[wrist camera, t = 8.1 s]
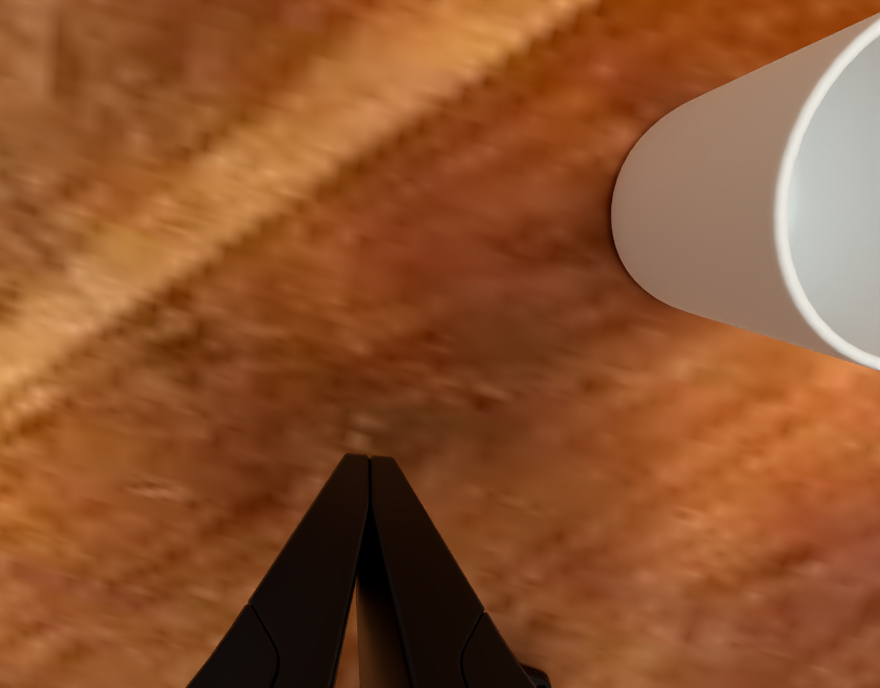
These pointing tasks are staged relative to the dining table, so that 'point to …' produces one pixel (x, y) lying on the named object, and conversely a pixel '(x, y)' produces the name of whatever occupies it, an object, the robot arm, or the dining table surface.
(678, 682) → the dining table surface
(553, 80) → the dining table surface
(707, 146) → the mug
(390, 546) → the robot arm
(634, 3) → the dining table surface
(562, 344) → the dining table surface
